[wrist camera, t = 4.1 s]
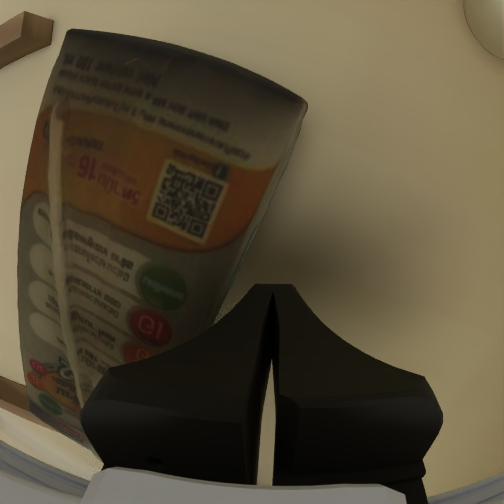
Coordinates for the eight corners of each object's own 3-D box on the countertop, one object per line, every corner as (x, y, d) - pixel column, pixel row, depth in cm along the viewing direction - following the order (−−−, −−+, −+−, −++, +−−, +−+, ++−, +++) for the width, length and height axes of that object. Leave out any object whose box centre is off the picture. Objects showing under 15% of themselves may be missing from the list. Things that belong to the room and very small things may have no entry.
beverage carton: (68, 356, 18) (18, 420, 12) (142, 51, 12) (55, 9, 5) (171, 408, 19) (142, 488, 13) (308, 110, 12) (335, 85, 6)
